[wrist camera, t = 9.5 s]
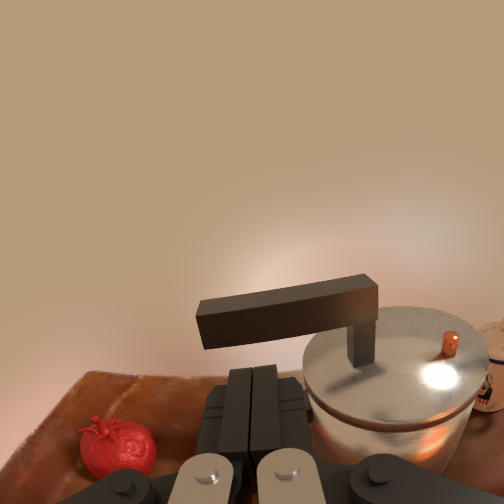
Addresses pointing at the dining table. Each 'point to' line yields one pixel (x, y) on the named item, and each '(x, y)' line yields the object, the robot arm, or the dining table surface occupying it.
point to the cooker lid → (361, 351)
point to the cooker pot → (383, 440)
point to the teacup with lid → (493, 369)
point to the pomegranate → (117, 446)
